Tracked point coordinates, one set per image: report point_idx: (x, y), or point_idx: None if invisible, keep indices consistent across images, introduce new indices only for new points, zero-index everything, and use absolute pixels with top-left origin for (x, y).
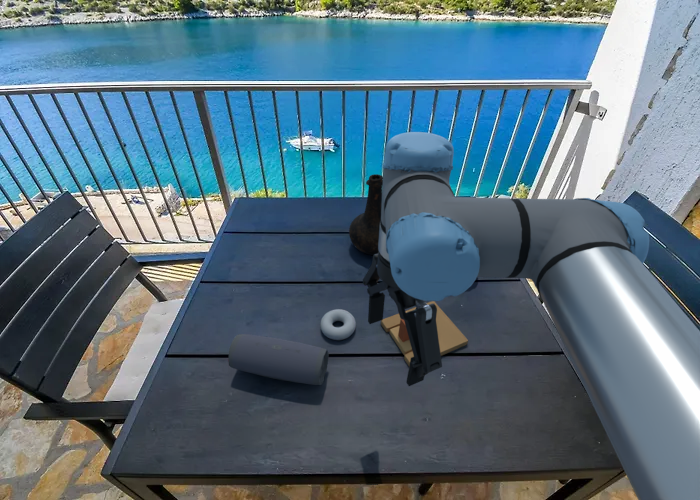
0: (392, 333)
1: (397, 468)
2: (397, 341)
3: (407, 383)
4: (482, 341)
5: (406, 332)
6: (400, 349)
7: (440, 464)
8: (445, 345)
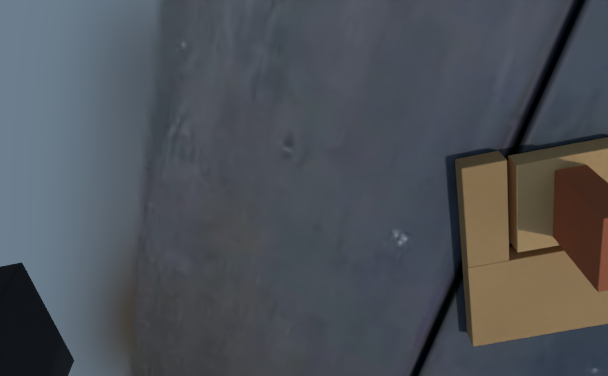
0: (604, 148)
1: (165, 13)
2: (566, 154)
3: (4, 270)
4: (459, 369)
5: (578, 203)
6: (534, 151)
7: (161, 137)
8: (484, 286)
